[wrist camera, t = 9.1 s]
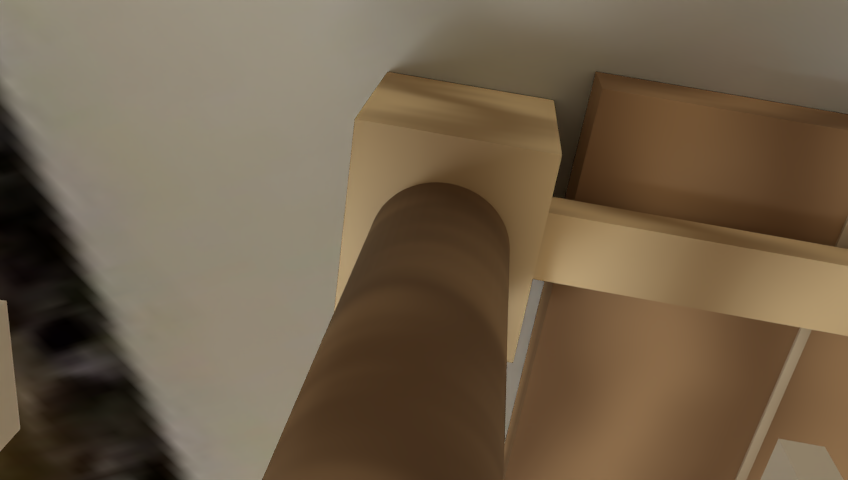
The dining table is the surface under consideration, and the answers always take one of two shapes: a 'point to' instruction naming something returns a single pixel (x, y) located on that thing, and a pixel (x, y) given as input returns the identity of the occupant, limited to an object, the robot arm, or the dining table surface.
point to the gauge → (493, 281)
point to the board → (677, 325)
